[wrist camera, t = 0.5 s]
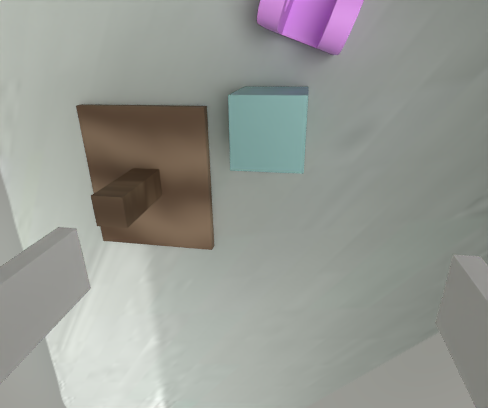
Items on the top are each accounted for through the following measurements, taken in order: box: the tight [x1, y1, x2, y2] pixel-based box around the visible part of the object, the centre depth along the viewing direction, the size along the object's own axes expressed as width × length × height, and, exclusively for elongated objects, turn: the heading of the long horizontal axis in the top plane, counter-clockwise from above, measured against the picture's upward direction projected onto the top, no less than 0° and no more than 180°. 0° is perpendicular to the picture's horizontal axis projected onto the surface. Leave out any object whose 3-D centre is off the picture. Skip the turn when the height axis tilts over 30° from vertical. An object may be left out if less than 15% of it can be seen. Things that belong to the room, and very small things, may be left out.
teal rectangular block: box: [228, 87, 308, 174], centre depth 26 cm, size 5×5×7 cm
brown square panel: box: [76, 104, 214, 250], centre depth 30 cm, size 14×12×8 cm
